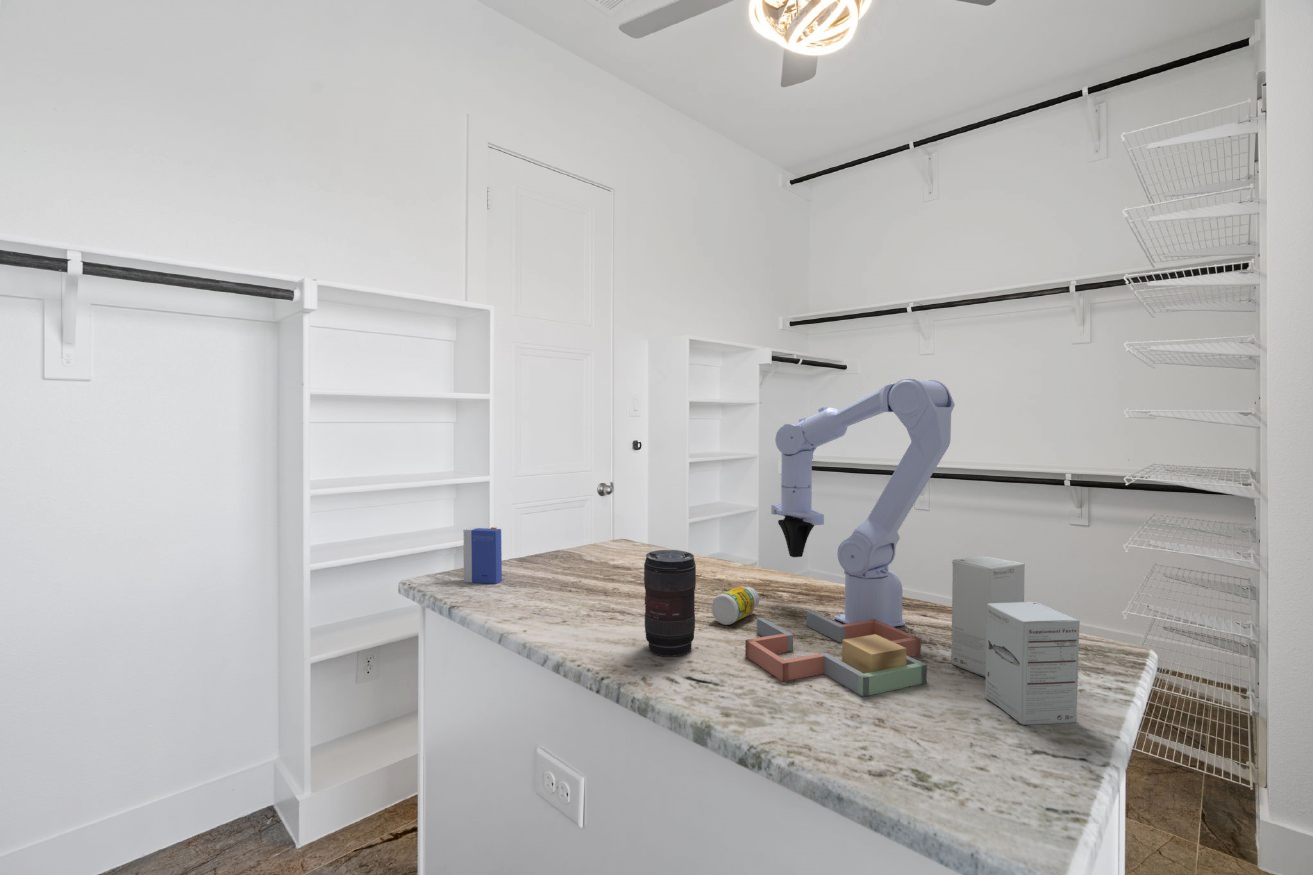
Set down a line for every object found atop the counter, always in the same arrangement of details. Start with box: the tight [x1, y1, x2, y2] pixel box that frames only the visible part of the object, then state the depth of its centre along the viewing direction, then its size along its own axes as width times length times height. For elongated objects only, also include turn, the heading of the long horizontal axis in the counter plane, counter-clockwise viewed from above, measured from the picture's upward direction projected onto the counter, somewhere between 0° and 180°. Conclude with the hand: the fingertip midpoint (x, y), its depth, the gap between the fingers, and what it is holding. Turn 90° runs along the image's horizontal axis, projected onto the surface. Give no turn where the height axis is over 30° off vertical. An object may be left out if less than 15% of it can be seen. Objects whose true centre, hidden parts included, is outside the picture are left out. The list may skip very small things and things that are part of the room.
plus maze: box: [744, 610, 928, 697], centre depth 96 cm, size 25×26×2 cm
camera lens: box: [643, 549, 697, 657], centre depth 98 cm, size 8×8×15 cm
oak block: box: [841, 634, 906, 674], centre depth 88 cm, size 6×6×5 cm
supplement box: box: [984, 601, 1080, 726], centre depth 78 cm, size 7×7×13 cm
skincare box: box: [950, 555, 1025, 678], centre depth 92 cm, size 8×7×16 cm
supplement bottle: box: [710, 586, 760, 626], centre depth 114 cm, size 5×5×10 cm
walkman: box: [462, 526, 503, 585], centre depth 139 cm, size 8×3×12 cm, turn 78°
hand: (796, 556), depth 122 cm, fingers closed
